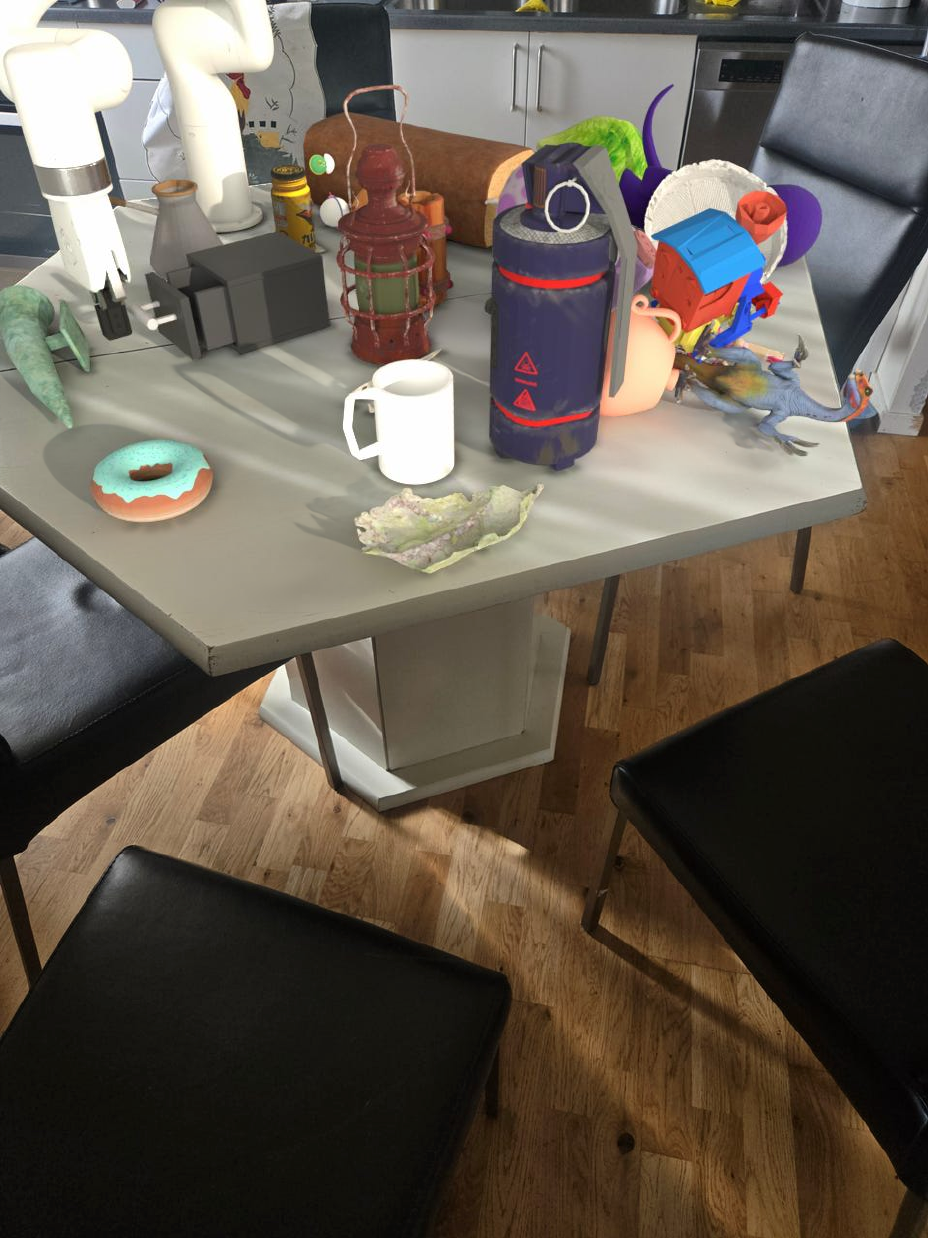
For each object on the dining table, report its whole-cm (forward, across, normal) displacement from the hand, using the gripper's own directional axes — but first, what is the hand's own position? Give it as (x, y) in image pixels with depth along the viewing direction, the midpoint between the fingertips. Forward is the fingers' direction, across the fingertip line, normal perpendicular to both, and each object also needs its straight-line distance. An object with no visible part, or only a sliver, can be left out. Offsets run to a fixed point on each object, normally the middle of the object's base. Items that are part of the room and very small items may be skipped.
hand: (118, 335), depth 111 cm
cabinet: (+4, 0, +20) cm, 20 cm away
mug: (+4, +5, +40) cm, 40 cm away
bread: (+4, -22, +62) cm, 66 cm away
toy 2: (0, +16, +72) cm, 73 cm away
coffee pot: (+4, -23, +15) cm, 28 cm away
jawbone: (+5, +25, +26) cm, 36 cm away
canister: (+4, +48, +29) cm, 56 cm away
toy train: (-3, +47, +55) cm, 72 cm away
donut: (+4, +29, -9) cm, 31 cm away
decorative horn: (+4, +11, -16) cm, 20 cm away
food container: (-5, +30, +75) cm, 81 cm away
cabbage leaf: (0, +61, +12) cm, 62 cm away
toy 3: (-7, +7, +82) cm, 83 cm away
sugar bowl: (-3, +43, +39) cm, 58 cm away
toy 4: (+3, +53, +62) cm, 82 cm away
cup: (+5, +40, +14) cm, 43 cm away
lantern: (+4, +16, +30) cm, 34 cm away
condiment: (+4, -22, +37) cm, 43 cm away
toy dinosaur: (-3, +52, +46) cm, 70 cm away
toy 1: (0, -31, +48) cm, 58 cm away
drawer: (+3, 0, +11) cm, 12 cm away
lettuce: (-11, -5, +89) cm, 90 cm away
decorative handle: (+4, +18, +51) cm, 54 cm away
